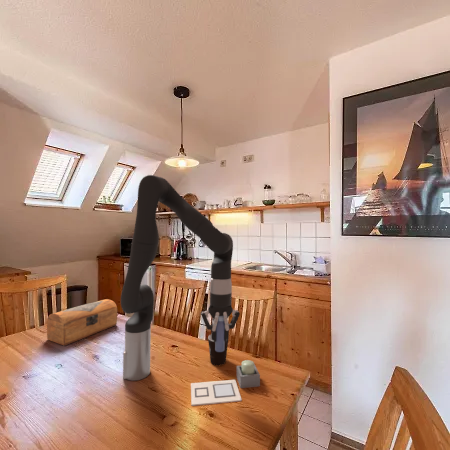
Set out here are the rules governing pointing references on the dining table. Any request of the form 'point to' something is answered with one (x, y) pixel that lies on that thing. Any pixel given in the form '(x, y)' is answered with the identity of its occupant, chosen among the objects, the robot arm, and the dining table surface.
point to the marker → (220, 335)
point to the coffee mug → (217, 353)
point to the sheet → (214, 392)
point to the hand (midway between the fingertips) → (220, 340)
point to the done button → (247, 367)
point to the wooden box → (81, 321)
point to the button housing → (248, 378)
